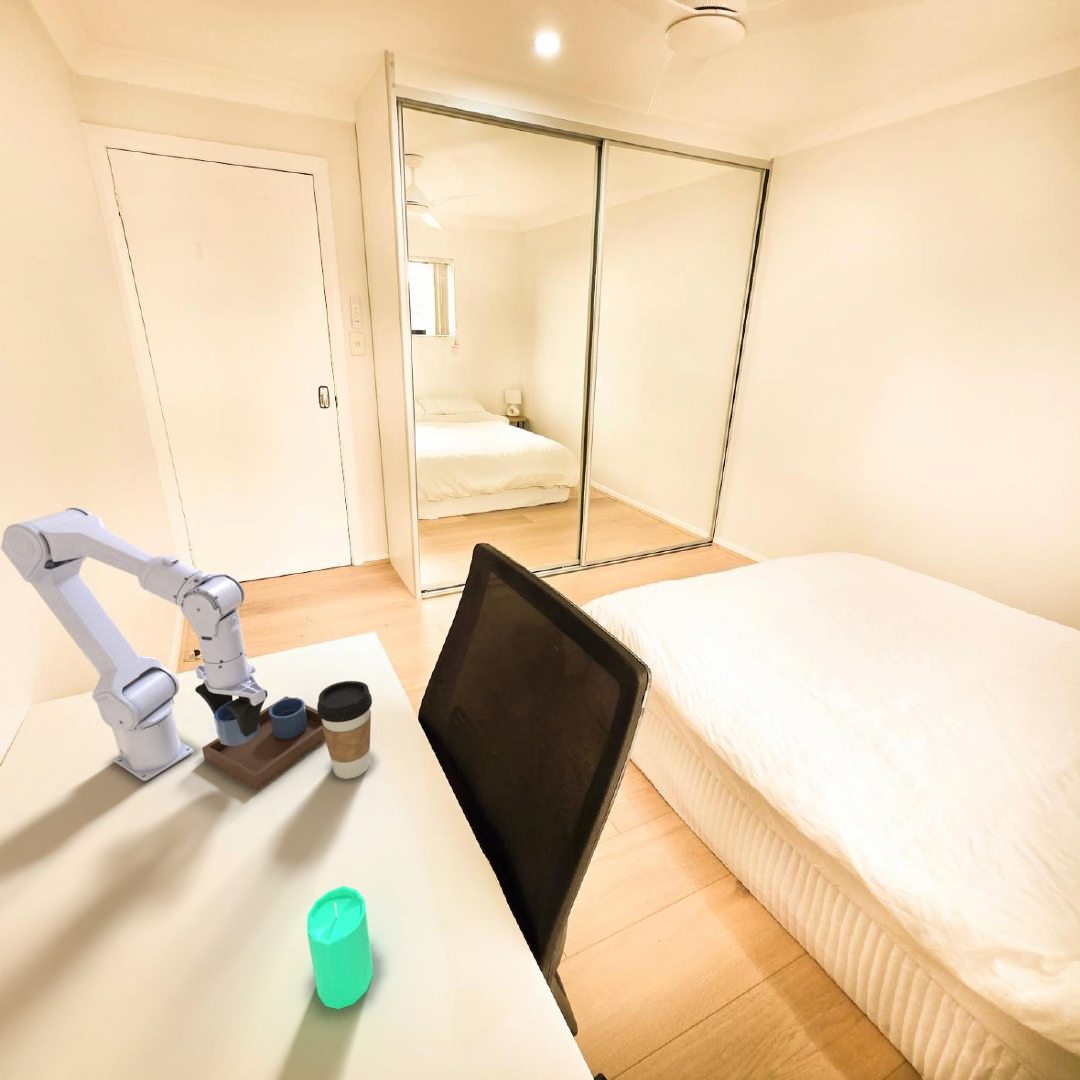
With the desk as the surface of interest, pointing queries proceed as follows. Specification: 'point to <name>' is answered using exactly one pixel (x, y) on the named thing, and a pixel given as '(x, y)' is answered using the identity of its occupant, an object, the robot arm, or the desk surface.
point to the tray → (265, 751)
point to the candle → (340, 947)
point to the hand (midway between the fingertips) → (238, 726)
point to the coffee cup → (347, 726)
